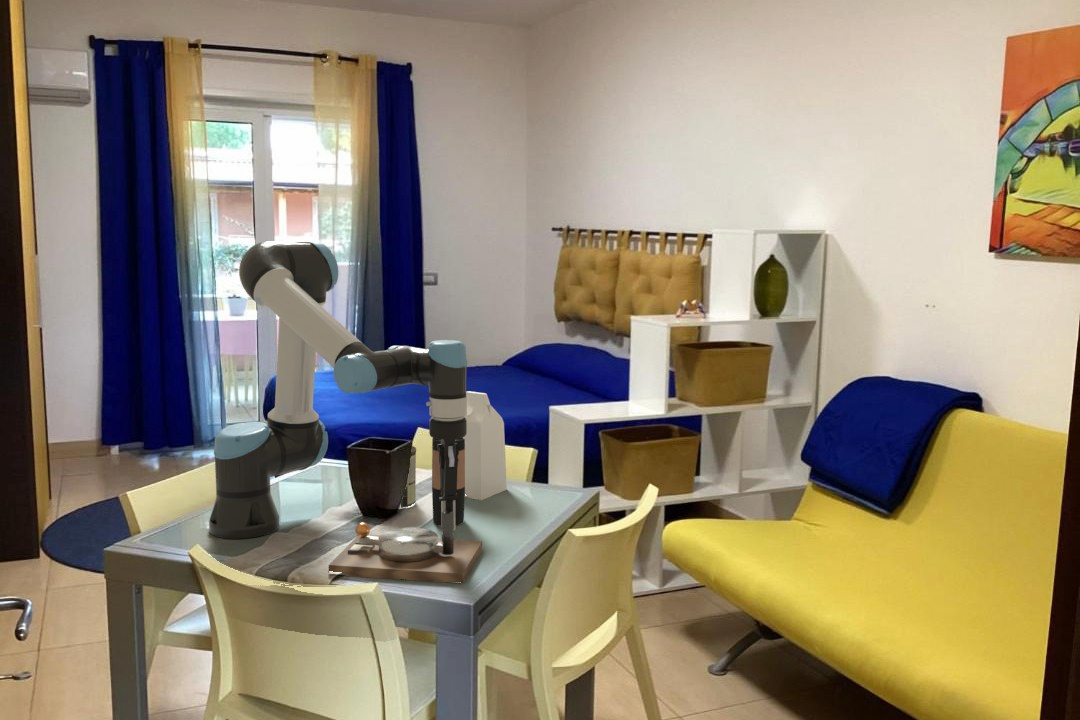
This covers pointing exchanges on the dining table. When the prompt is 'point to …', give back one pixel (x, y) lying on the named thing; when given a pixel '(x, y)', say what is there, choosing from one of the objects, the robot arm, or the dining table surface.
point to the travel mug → (460, 483)
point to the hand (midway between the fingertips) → (448, 529)
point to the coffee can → (410, 482)
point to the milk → (484, 448)
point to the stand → (407, 563)
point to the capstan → (411, 541)
